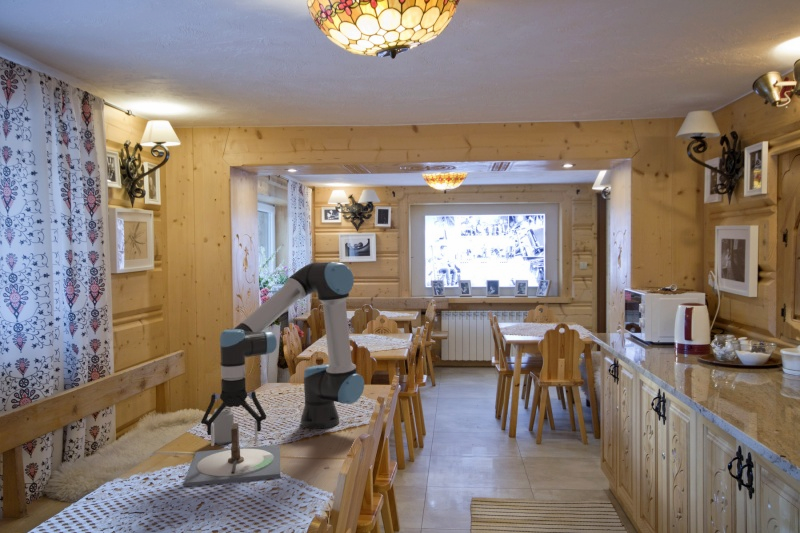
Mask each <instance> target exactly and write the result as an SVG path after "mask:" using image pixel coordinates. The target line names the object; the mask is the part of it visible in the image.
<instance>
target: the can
mask: <svg viewBox="0 0 800 533" xmlns="http://www.w3.org/2000/svg"><path fill="white" fill-rule="evenodd" d="M217 409H218V408H215V409H214V410H213V413H211V414H212V415H213V414H214V413H215V412H216V410H217ZM212 415H211V416H212ZM212 423H214V444H217V445H227V444H230V443H232V437H231V428H232V424H233V423H235V420H234V411H233V409H232V407H227V406H226V407H225V408H224V409H223V410H222V411H221V413H220V414H219V415H218V416H217V417H216V419H215V420H214V421H213V422H212Z"/></svg>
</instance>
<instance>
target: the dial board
mask: <svg viewBox="0 0 800 533" xmlns="http://www.w3.org/2000/svg"><path fill="white" fill-rule="evenodd" d="M280 448H281V446H280V444H271V445H261V446H260V445H259V446H247V447H240V456H241V457H243V458H244V461H243V462H241V463H236V469H235V473H234V474H232V467H233V464H231V463H228V459H229V458H231V448H225V449H224V448H223V449H213V450H200V451H196V452H195V454H194V457H193V459H192V461H191V464H190V467H189V469H188V471H187V475H186V477H185V480H184V482H183V485H184V486H183V487H184V488H186V487H185V486H188V487H194V486H193V485H199V486H204V485H203V484H209V485H217V484H216V483H219V484H227V483H228V482H230V483H237V482H247V481H249V482H250V481H258V480H259V481H260V480H269V479H277V478H280V479H281V449H280Z"/></svg>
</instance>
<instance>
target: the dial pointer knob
mask: <svg viewBox="0 0 800 533" xmlns="http://www.w3.org/2000/svg"><path fill="white" fill-rule="evenodd" d="M239 430H240V429H239V423H238V422H236V423H235V422H234V423H233V424H232V428H231V437H232V442H231V448H230V449H231V458H229V459H228V463H231V464H233V467H232V474H234V473H235V469H236V463H241V462H243V461H244V458H243V457H241V456H240V448H241V446H240V435H239V432H240V431H239Z"/></svg>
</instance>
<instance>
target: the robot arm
mask: <svg viewBox="0 0 800 533" xmlns="http://www.w3.org/2000/svg"><path fill="white" fill-rule="evenodd" d="M354 279H355V277H354V274H353V272H352V270H351V268H349V267H348V265H347V264H345V263H342V262H336V261H332V262H331V261H327V262H326V261H325V262H318V261H317V262H311V263H309V264H306V265H305V266H303V267H301V268H299V269H298V270H297V271H295V272H294V273H293V274H291V275H290V276H289V277H288V278H287V279H286V280H285V284H284V285H283V286H282V287H281V288H279V289H278V290H277V291H276V292H275V293H273V294H272V296H270V297H269V298H268V299H267V300H265V301H264V302H263V303H262V304H260V306H258V308H256V309H255V310H254V311H253V312H251V313H250V314H249V315H248V316H247V317H246V318H244V319H243V321H241V322H240V323H239V324H238V325H236V326H235V327H234V328H227V329H225V330H223V331H222V332H221V333H220V338H219V347H220V377H221V382H220V383H221V385H220V386H221V388H220V389H221V392H220V393H216V392H212V394H211V397H210V403H209V404H208V406H207V408H206V410H205V413H204V415H203V417H202V419H201V422H200V424H201V425H206V431H207V435H208V436H210V445H211V447H214V445H215V442H214V423H212V422H213V421H214V420H215V419H216V417H217V416H218V415H219V414H220V413H221V411H222V410H223V409H224V408H225V407H228V408H233V407H234V408H235V407H236V408H240V406H241V407H242V408H243V409H244V410H245V411H246V412H247V413H248V414H249V415H250V416H251V417H252V418H253V419H254V443H257V444H258V436H259V435H258V433H259V432H261V430H262V423H261V422H262V421H264V420H267V414H266V412H265V411H264V409H263V407H262V405H261V403H260V401H259V399H258V398H257V393H256V391H255V390H252V391H250V392H249V391H248V392H247V390H246V377H245V376H246V358H250V357H256V356H262V355H264V356H266V355H269V354H272V353H274V352H275V350H276V349H277V346H278V345H277V344H278V340H277V337H276V335H275V334H274V332H272V331H265V330H266V329H267V328H268V327H270V326H271V325H272V323H274V322H275V321H276V320H278V318H279V317H281V315H283V314H284V313H285V312H286V311H287V310H288V309H290V307H292V306H293V305H294V304H295V303H296V302H298V300H304V298H306V297H307V296H309V295H310V294H314V293H315V294H317V300H318V301H319V302H320V303H321V304H322V309H323V317H324V328H325V335H326V336H325V337H326V345H327V346H326V347H327V354H328V364H317V365H313V366H307V367H306V368H305V369H304V371H303V383H304V384H303V385H304V387H303V388H304V389H303V390H304V392H303V393H304V407H303V411H302V414H301V418H300V425H301V427H304V428H307V429H317V430H318V429H326V428H331V427H334V426H336V425H338V424H339V423H340V417H339V413H338V409H337V407H336V404H335V403H340V404H343V405H344V404H346V405H352V404H354V403H356V402H358V401H359V399H360V398H361V396H362V394H363V393H364V389H365V380H364V378H363V376H362V375H360V374H359V373H358V371H357V365H356V364H354V363H353V360H352V352H351V350H352V349H351V342H350V341H351V340H350V333H349V322H348V313H347V302H346V301H347V300H348V298H349V297H350V295H349V294H350V292H351V291H352V289H353V287H354V283H355V280H354ZM247 398H249V399H251V400H252V402H253V404H254V406H255V407H256V409H257V412H258V413H259V414H258V413H257V412H256V411H255V409H253V407H252V406H250V404H249V403H248V402H247V401H246V399H247ZM219 399H220V400H221V401H222V403H221V404H220V406H219V407H217V408H216V409H217V410H216V412H215V413H214V412H213V413H214V414H213V413H212V414H213V415H211V417H210V418H209V419H208V417H209V415H210V413H211V411H212V409H213V407H214V405H215V403H216V402H217V401H218V400H219Z"/></svg>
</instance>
